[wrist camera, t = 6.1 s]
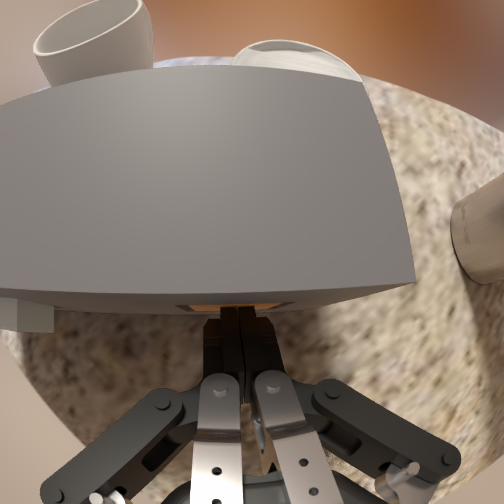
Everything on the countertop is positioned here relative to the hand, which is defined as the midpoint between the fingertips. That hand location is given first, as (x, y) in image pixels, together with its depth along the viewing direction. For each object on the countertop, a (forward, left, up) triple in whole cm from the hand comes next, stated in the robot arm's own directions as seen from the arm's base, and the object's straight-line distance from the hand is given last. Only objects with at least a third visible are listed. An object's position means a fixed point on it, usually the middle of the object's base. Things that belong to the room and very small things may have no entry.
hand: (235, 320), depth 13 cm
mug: (+12, -14, -6) cm, 19 cm away
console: (+7, -3, -6) cm, 10 cm away
